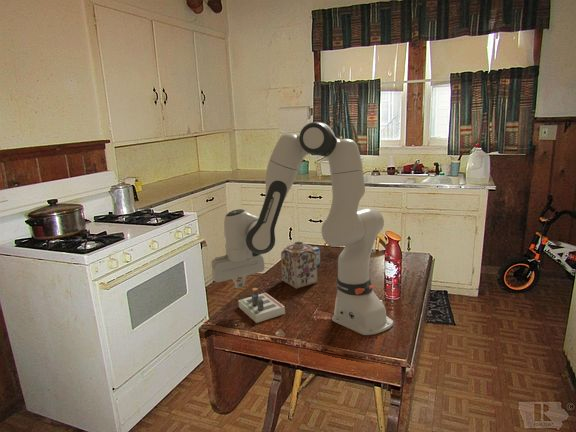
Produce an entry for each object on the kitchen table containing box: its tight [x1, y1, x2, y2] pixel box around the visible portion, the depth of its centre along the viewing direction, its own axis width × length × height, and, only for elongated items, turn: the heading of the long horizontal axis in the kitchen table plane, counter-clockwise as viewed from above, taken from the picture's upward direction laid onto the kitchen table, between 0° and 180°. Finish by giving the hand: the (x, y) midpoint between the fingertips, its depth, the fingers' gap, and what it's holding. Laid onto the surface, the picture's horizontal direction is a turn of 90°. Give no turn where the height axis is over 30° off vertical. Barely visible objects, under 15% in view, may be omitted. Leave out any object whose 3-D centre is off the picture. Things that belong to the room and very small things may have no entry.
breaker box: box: [238, 292, 286, 324], centre depth 160 cm, size 15×12×7 cm
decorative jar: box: [280, 240, 318, 289], centre depth 183 cm, size 12×12×18 cm
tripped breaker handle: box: [252, 287, 259, 297], centre depth 163 cm, size 2×2×4 cm
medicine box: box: [312, 246, 321, 267], centre depth 203 cm, size 8×4×9 cm, turn 118°
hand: (239, 286), depth 160 cm, fingers closed
